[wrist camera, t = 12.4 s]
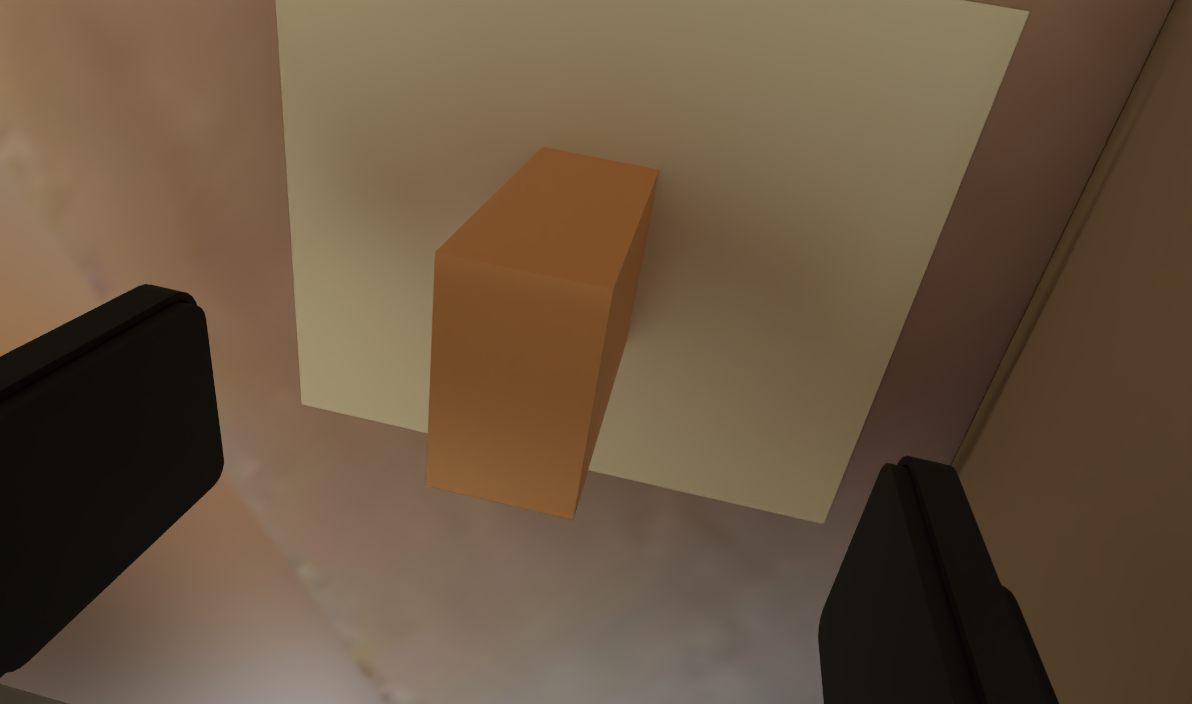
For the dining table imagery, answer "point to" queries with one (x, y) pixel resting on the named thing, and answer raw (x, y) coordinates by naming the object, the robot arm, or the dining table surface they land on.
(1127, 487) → the carton
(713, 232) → the lid
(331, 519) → the dining table surface
